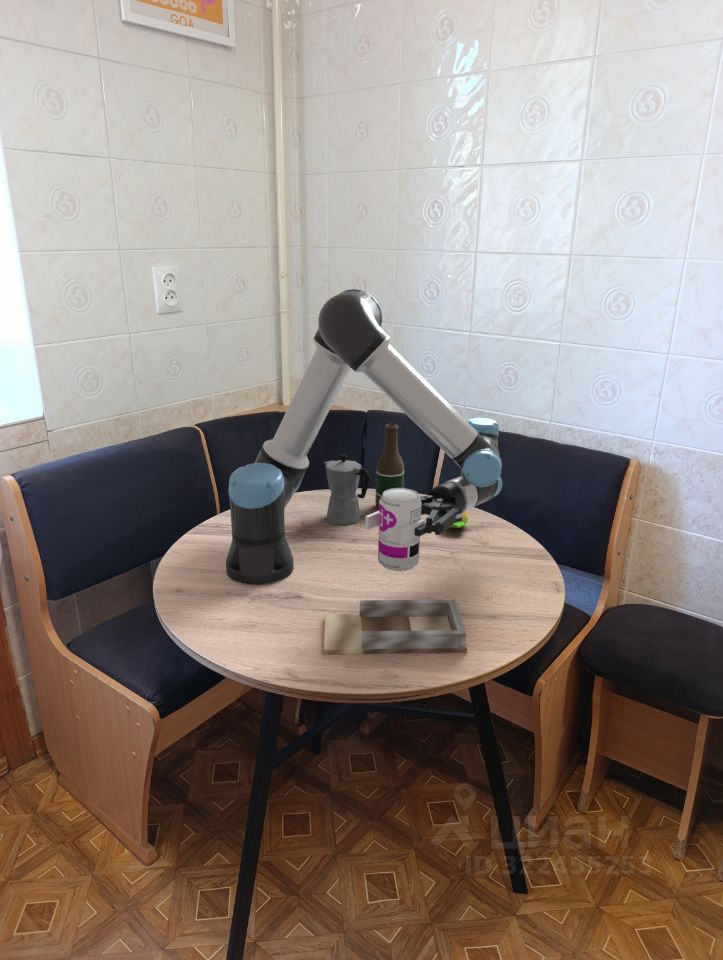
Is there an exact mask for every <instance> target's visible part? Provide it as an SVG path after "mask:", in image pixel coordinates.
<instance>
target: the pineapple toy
mask: <svg viewBox="0 0 723 960" xmlns="http://www.w3.org/2000/svg"><path fill="white" fill-rule="evenodd" d="M468 521H469V516H468V514H467V512H466V511H464V512H462V521H459V522H456V523H454V524H453V525H452V526H451V527H450V528H451V529H460V528H465V527H467V525H466V523H468Z"/></svg>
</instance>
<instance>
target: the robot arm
mask: <svg viewBox="0 0 723 960" xmlns="http://www.w3.org/2000/svg"><path fill="white" fill-rule="evenodd" d="M319 311H320V312H319V314H318V319H317V320H318V321H317V323H318V324H317V325H318V327H317V331H316V333H315V335H314V337H313V342H314V344H315V347H316V348H315V350H314V351H315V352H314V353H313V355H312V357H311V360H310V361H309V363H308V366H307V368H306V369H305V371H304V374H303V376H302V378H301V380H300V382H299V384H298V386H297V389H296V391H295V393H294V395H293V397H292V399H291V401H290V403H289V405H288V407H287V409H286V410H285V411H286V412H284V416H283V418H282V420H281V422H280V424H279V425H278V428H277V430H276V432H275V434H274V437H273V438H271V439H269V440H265V441H264V443H263V444H262V446H261V449H260V451H259V453H258V454H257V457H256V458H255V461H254V463H249V464H246V465H245V466H240V467H238V468H236V469H235V470H234V471H233V472H231V474H230V476H229V481H228V491H227V492H228V496H229V497H228V498H229V510H230V523H231V524H230V525H231V537H232V538H231V542H230V543H231V544H230V546H229V550H228V553H227V557H226V561H225V569H226V570H225V571H226V575H227V576H228V578H229V579H230V580H232V581H235V582H237V583H238V584H239V583H240V584H242V585H243V584H244V585H253V586H257V585H268V584H273V583H277V582H279V581H282V580H284V579H286V578H287V577H289V576H290V575H291V574H292V573H293V571H294V568H295V567H294V565H295V563H294V562H295V561H294V555H293V553H292V550H291V548H290V545H289V543H288V540H287V538H286V529H285V528H286V526H285V525H286V524H285V510H286V507H287V505H288V504H289V502H290V500H291V499H292V498H293V496H295V494H296V493H297V491H298V490H299V488H300V486H301V485H302V480H303V478H304V476H305V473H306V472H307V469H308V468H309V465H310V461H309V459H308V453H309V452H310V449H311V448H312V445H313V444H314V442H315V440H316V437H317V436H318V434H319V432H320V429H321V428H322V425H323V424H324V421H325V420H326V417H327V416H328V413H330V410H331V407H332V406H333V403H334V402H335V400H336V398H337V396H338V394H339V392H340V391H341V388H342V386H343V384H344V382H345V380H346V378H347V376H348V374H349V372H350V370H353V371H354V372H355V373H363V374H364V375H365V376H366V377H367V378H368V379H369V380H370V381H371V382H372V383H374V385H376V387H378V388H379V390H381V391H382V392H383V394H385V395H386V397H387V398H389V399H390V400H391V402H393V403H394V404H395V405H396V406H397V407H398V408H399V410H401V411H402V412H403V413H404V414H405V415H406V416H408V418H409V419H410V420H411V421H412V422H413V423H415V425H416V426H418V428H420V429H421V430H422V431H423V432H424V434H426V435H427V436H428V437H429V438H430V439H431V441H433V443H435V444H436V445H437V446H438V447H439V448H440V449H441V450H442V451H443V452H444V453H445V454H446V455H447V456H448V457H449V458H450V459H451V460H452V461H453V462H454V463H455V464H456V465H457V466H458V467H459V468H460V469H461V471H460V473H461V474H460V476H457V477H455V478H453V479H449V480H447V481H446V482H443V483H441V484H438V485H436V486H434V487H433V488H432V489H431V490H430V492H429V493H428V494H427V495H422V496H419V498H420V500H421V516H422V515H426V517H425V519H421V520H419V521H417V522H415V523H413V524H411V525H409V526H406V527H404V528H402V529H401V534H400V542H401V543H405V542H407V541H409V540H411V539H413V538H415V537H417V536H420V537H422V536H423V535H426V534H432V533H434V534H435V535H436V536H440V535H442V534H443V533H444V532H446V531H447V530H448V529H450V528H451V526H452V525H453V524H454V523H456V522H459V521H462V512H464V511H465V512H466V511H468V510H471V509H472V508H474V507H477V506H479V505H481V504H483V503H486V502H488V501H490V500H492V499H493V498H494V497H496V496H498V494H500V492H501V490H502V488H503V479H502V477H501V474H502V467H503V463H502V461H503V460H502V459H501V457H500V451H499V446H498V444H499V436H500V434H499V429H500V428H499V423H498V422H497V421H496V420H494V419H491V418H487V417H473V418H469V419H467V420H466V419H465V418H464V417H463V416H462V415H461V414H460V413H459V412H458V411H457V410H456V409H455V408H454V407H453V406H452V405H451V404H450V403H449V402H448V401H447V400H446V399H445V398H444V396H442V395H441V394H440V393H439V392H437V390H436V389H435V388H434V387H433V386H432V385H431V384H430V383H429V382H428V381H427V380H426V379H425V378H424V377H423V376H422V375H421V374H420V373H419V372H418V371H416V369H415V368H414V367H413V366H412V365H411V364H410V363H409V362H408V361H407V360H406V359H405V358H404V357H403V356H402V355H401V354H400V353H399V352H398V351H397V350H396V349H395V348H394V347H393V346H392V345H391V344H390V342H391V341H390V336H389V334H387V332H385V331H384V329H382V323H383V314H382V309H381V306H380V303H379V302H378V301H377V300H376V298H375V297H374V296H373V295H372V294H370V293H368V292H366V291H363V290H361V289H356V288H352V289H346V290H343V291H341V292H340V293H339V294H336V295H334V296H332V297H330V298H329V299H328V300H327V301H326V302H325V303H324V304H323V306H322V308H321V309H320V310H319ZM427 516H428V517H427ZM364 524H365V527H364V528H365V530H368V531H369V530H371V529H373V528H375V527H379V510H378V509H377V510H376V511H373V513H370V514H367V515H365V523H364Z"/></svg>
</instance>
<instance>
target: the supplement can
mask: <svg viewBox="0 0 723 960" xmlns="http://www.w3.org/2000/svg"><path fill="white" fill-rule="evenodd" d="M421 518H422V515H421V500H420V495H419V493H418V491H416V490H413V489H409V488H406V487H404V488H392V489H388V490H386V491H384V492H383V495H382V497H381V499H380V500H379V525H378V551H377V557H378V558H377V559H378V563H379V564H380V565H381V566H382V567H383V568H385V569H387V570H389V571H393V572H404V571H405V572H406V571H410V570H412V569H413V568H415V567H416V566H417V565H418V564H419V561H420V546H421V545H420V543H421V542H420V541H421V536H417V537H415V538H413V539H411V540H409V541H407V542H405V543H401V542H400V534H401V529H402V528H404V527H406V526H409V525H411V524H413V523H415V522H417V521H419V520H421Z"/></svg>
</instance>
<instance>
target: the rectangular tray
mask: <svg viewBox="0 0 723 960" xmlns="http://www.w3.org/2000/svg"><path fill="white" fill-rule="evenodd" d="M323 638H324V639H323V654H324V655H366V654H367V655H369V654H370V655H374V654H376V655H377V654H378V655H379V654H380V655H381V654H384V655H385V654H389V655H391V654H454V653H455V654H458V653H460V654H461V653H464V654H465V653H466V654H467V653H468V645H467V642H466V641H467V632H466V628H465V626H464V623H463V620H462V617H461V614H460V610H459V608H458V605H457V601H456V599H386V600H385V599H381V600H378V599H375V600H373V599H372V600H371V599H369V600H366V599H364V600H359V613H325V614H324V637H323Z"/></svg>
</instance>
